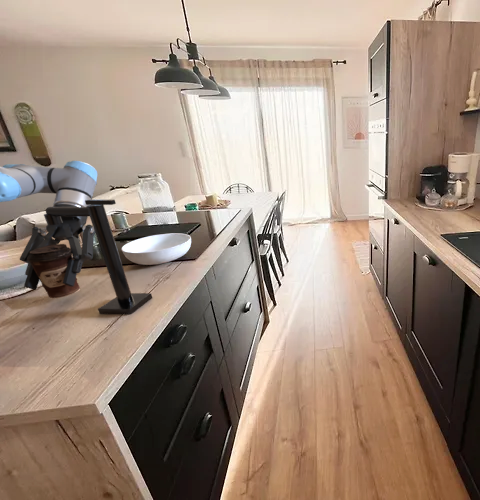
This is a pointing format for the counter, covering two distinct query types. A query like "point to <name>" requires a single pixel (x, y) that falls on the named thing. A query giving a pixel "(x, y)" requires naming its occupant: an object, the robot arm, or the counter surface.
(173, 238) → the serving bowl
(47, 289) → the coffee cup
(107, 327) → the counter surface
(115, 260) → the tap
